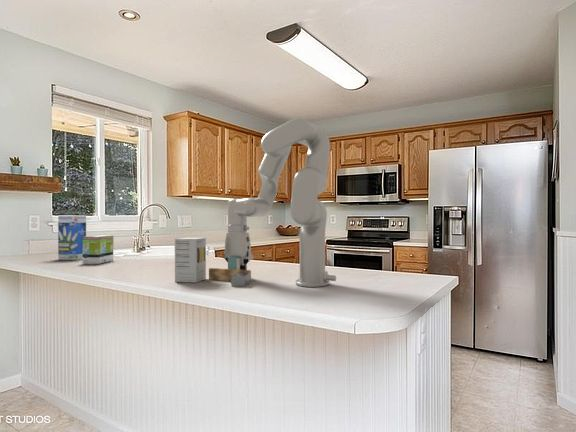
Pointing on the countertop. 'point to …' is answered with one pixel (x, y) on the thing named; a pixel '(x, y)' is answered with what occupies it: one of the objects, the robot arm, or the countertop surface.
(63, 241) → the string lights box
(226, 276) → the rail
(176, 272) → the supplement box
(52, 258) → the countertop surface
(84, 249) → the tea box
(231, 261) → the book
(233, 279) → the grey rounded block
